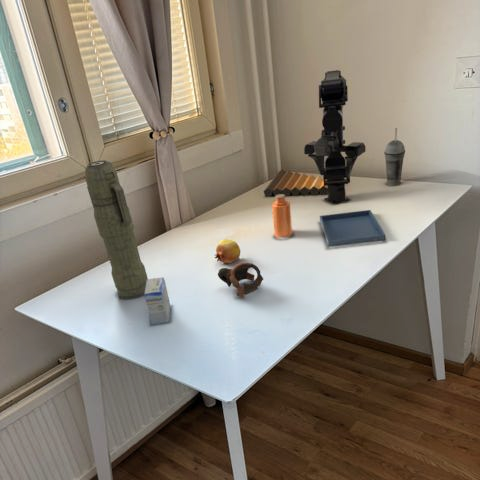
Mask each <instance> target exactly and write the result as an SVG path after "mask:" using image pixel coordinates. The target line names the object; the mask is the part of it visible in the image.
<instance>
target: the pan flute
mask: <svg viewBox="0 0 480 480" xmlns="http://www.w3.org/2000/svg"><path fill="white" fill-rule="evenodd" d="M326 180H327V179H326ZM263 194H264V197H266V198H269V197H270V198H271V197H272V196H274V197H275V196H276V195H279V194H284V195H285V197H290V196H291V195H292V197H298V196H299V195H300V194H301V196H309V194H310V195H311V196H317V195H318V194H319V195H320V196H325V195H327V196H328V186H324V180H323V177H321V175H318V176H317V177H316V176H314V175H313V174H310V175H307V174H305V173H302V174H300V173H299V172H297V171H295V172H294V173H293V172H292V171H291V170H287V171H286V170H284V169H280V170H279V171H278V172H277V173H276V174H275V176H274V177H273V179H271V181H270V182H269V184H268V185H267V186H266V187H265V189H264V190H263Z"/></svg>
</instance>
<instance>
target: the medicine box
mask: <svg viewBox="0 0 480 480" xmlns="http://www.w3.org/2000/svg"><path fill="white" fill-rule="evenodd" d="M143 296H144V301H145V305H146V308H147V312H148V316H149V319H150V323H151V325H160V324H166V323H170V318H171V317H170V316H171V312H170V311H171V303H170V297H169V293H168V289H167V284H166V280H165V278H164V277H162V276H161V277H154V278H148V280H147V281H146V287H145V292H144V294H143Z"/></svg>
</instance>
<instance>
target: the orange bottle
mask: <svg viewBox="0 0 480 480" xmlns="http://www.w3.org/2000/svg"><path fill="white" fill-rule="evenodd" d="M274 198H275V200H274V201H273V203H272V204H271V211H272V212H271V213H272V214H271V215H272V223H273V231H274V236H275V237H276V238H287V237H290V236H292V235H293V223H292V222H293V221H292V211H291V209H292V208H291V202H290V201H288V200H287V199H285V198H286V196H285V195H284V194H279V195H276V196H274Z"/></svg>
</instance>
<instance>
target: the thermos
mask: <svg viewBox="0 0 480 480" xmlns="http://www.w3.org/2000/svg"><path fill="white" fill-rule="evenodd" d="M84 169H85V172H84V173H85V174H84V177H85V178H84V179H85V183H86V188H87V191H88V195H89V199H90V201H91V205H92V208H93V217H94V220H95V221H94V222H95V224H96V227H97V230H98V234H99V236H100V237H101V239H102V241H103V244H104V247H105V250H106V253H107V257H108V259H109V264H110V266H111V277H112V281H113V283H114V287H115V288H116V290H117V294H118V296H119V297H120V298H121V299H124V300H126V299H128V300H130V299H131V300H132V299H134V298H139V297H141V296H144V292H145V287H146V281H147V280H148V279H149V278H148V274H147V270H146V267H145V264H144V263H143V262H142V259H141V256H140V252H139V248H138V245H137V240H136V237H135V233H134V228H135V227H134V222H133V218H132V215H131V211H130V208H129V207H128V203H127V198H126V195H125V191H124V188H123V187H122V185H121V183H120V180H119V176H118V173H117V170H116V169H115V167H114V166H113V164H112V162H111V161H108V160H106V159H104V160H103V159H102V160H96V161H92V162H90V163H87V165H86V166H85V168H84Z"/></svg>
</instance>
